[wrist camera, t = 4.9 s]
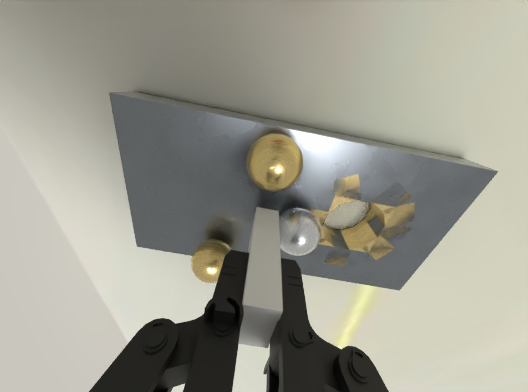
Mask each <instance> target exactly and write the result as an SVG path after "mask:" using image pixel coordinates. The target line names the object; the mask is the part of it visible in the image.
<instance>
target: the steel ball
mask: <svg viewBox="0 0 528 392" xmlns="http://www.w3.org/2000/svg"><path fill="white" fill-rule="evenodd" d="M279 231H280V248H281V249H282V250H283V251H285V252H286V253H288V254H291V255H295V256H301V255H306V254H308V253H310V252H312V251H313V250H314V249H315V248H316V247H317V246H318V244H319V242H320V239H321V226H320V223H319V221H318V219H317V218H316V216H315V215H314V214H313V213H311V212H310V211H308V210H306V209H303V208H291V209H288V210H286V211H284V212H283V213H281V214H280V215H279Z"/></svg>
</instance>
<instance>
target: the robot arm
mask: <svg viewBox="0 0 528 392" xmlns="http://www.w3.org/2000/svg"><path fill="white" fill-rule="evenodd" d="M238 343H239V344H246V345H252V346H259V347H265V348H268V346H269V344H270V356H269V359H268V361H267V363H266V365H265V368H264V374H266V373H267V391H266V392H389V391H388V390H387V388H386V386H385V384H384V382H383V380H382V378H381V377H380V375H379V373H378V371H377V369H376V367H375V365H374V364H373V363H372V361H371V360H370V358H369V357H368V356H367V355H366V354H365V353H364V352H363V351H362V350H360V349H358V348H356V347H353V346H347V347H345V348H343V349H342V350H341V349H339V348H338V347H336V346H334V345H332V344H330V343H328V342H326V341H325V340H323V339H322V338H320V337H319V336H318V335H317V334H316V333H315V332H314V330H313V329H312V327H311V325H310V323H309V320H308V315H307V309H306V302H305V295H304V289H303V282H302V276H301V269H300V267H299V265H298V264H297V262H296V260H290V259H285V258H281V254H280V231H279V211H276V210H270V209H265V208H260V207H257V208H256V213H255V217H254V222H253V227H252V232H251V236H250V242H249V248H248V253H247V252H241V251H236V250H230V251H229V252H228V253H227V254H226V255H225V257H224V260H223V264H222V267H221V271H220V274H219V278H218V281H217V284H216V288H215V291H214V295H213V298H212V299H211V300H210V301H209V302H208V304H207V305H206V307H205V313H204V314H203V315H202V316H200V317H199V318H197V319H195V320H191V321H187V322H182V323H177V324H175V323H174V322H172V321H171V320H170V319H165V318H160V319H155V320H153V321H151V322H149V323H147V324H145V325H144V326H143V327H142V328H141V329H140V330H139V331H138V332H137V333H136V335H135V336H134V337H133V338H132V340H131V341H130V342H129V343H128V344H127V346H126V347H125V348H124V349H123V351H122V352H121V353H120V354H119V356H118V357H117V358H116V359H115V360H114V362H113V363H112V364H111V365H110V367H109V368H108V369H107V370H106V372H105V373H104V374H103V375H102V376H101V378H100V379H99V380H98V381H97V383H96V384H95V385H94V386H93V388H92V389H91V390H90V391H89V392H171V390H172V388H173V387H175V386H178V385H181V384H185V387H184V390H183V392H232V387H233V379H234V372H235V365H236V357H237V350H238Z"/></svg>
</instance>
